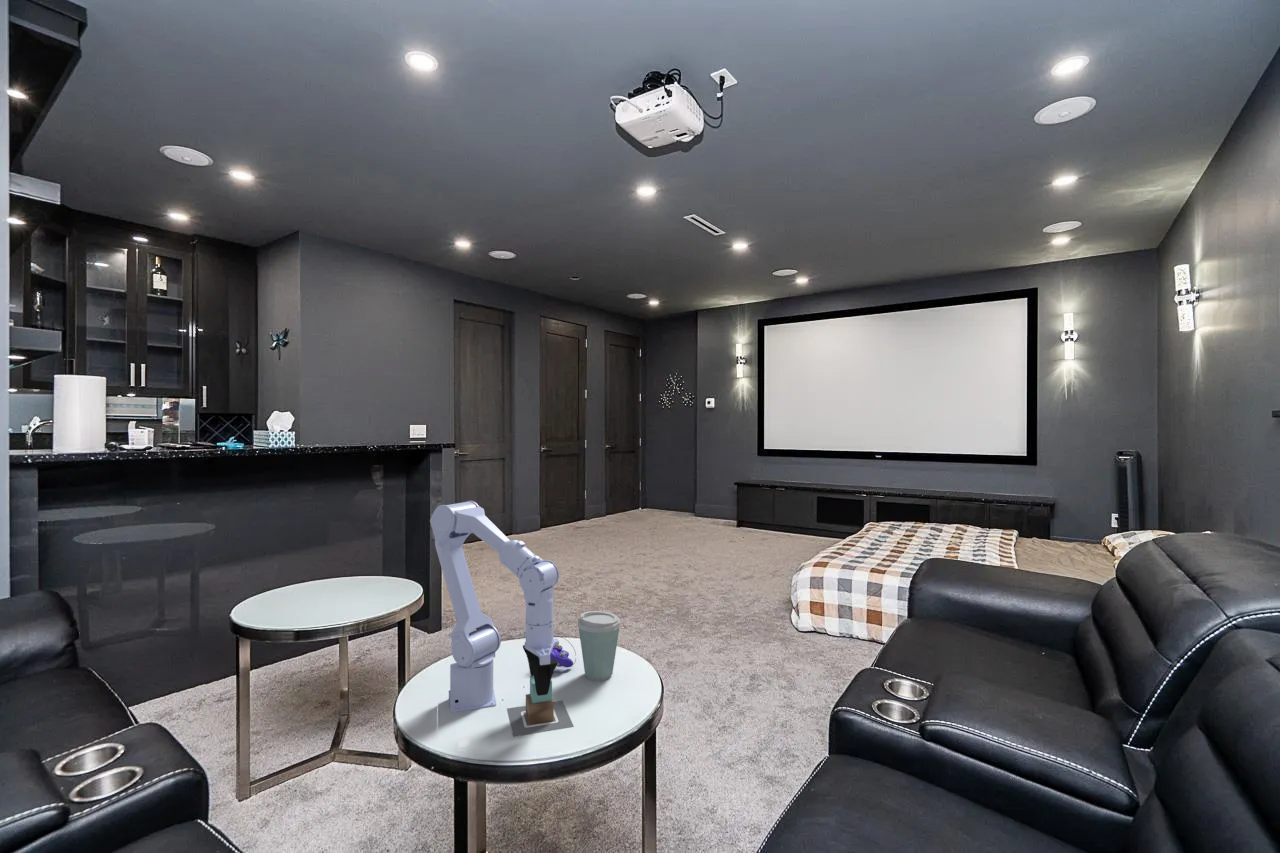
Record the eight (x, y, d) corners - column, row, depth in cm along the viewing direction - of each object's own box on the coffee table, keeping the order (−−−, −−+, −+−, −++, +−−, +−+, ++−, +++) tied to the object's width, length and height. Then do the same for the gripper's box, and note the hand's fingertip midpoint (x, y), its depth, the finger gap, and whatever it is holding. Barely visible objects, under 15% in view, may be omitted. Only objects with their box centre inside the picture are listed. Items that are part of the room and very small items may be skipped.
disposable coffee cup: (614, 665, 149) (614, 606, 149) (626, 683, 139) (626, 619, 139) (573, 670, 146) (573, 610, 146) (582, 689, 136) (582, 624, 136)
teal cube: (532, 703, 120) (532, 683, 120) (529, 694, 123) (529, 675, 123) (552, 700, 121) (552, 681, 121) (548, 692, 125) (548, 673, 125)
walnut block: (529, 724, 119) (529, 705, 119) (525, 713, 124) (525, 694, 124) (553, 721, 121) (553, 701, 121) (549, 709, 125) (549, 691, 125)
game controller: (587, 652, 148) (558, 656, 141) (576, 682, 149) (546, 687, 142) (564, 631, 155) (534, 633, 148) (553, 659, 156) (523, 663, 148)
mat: (513, 737, 114) (513, 736, 114) (507, 709, 126) (507, 708, 126) (573, 728, 118) (573, 726, 118) (562, 701, 130) (562, 699, 130)
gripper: (565, 630, 117) (565, 698, 116) (552, 608, 130) (552, 670, 130) (529, 634, 114) (529, 704, 114) (520, 612, 128) (520, 674, 128)
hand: (539, 686), depth 122 cm, fingers open, 7 cm apart
